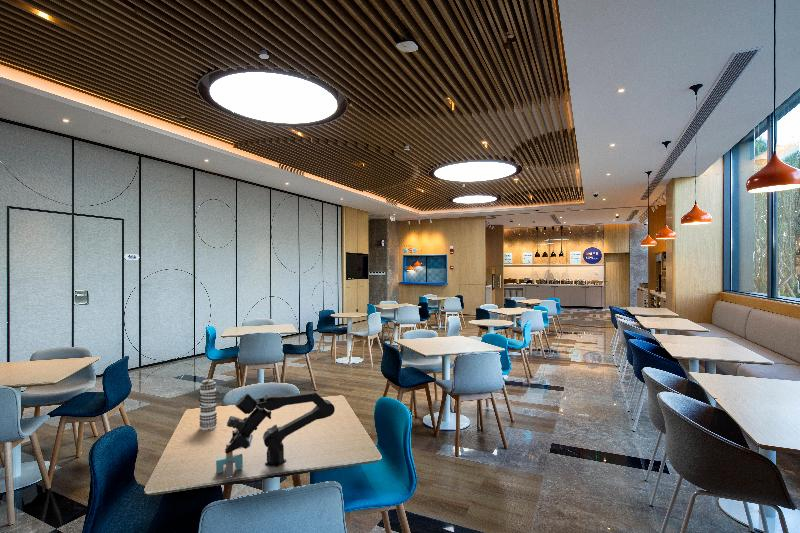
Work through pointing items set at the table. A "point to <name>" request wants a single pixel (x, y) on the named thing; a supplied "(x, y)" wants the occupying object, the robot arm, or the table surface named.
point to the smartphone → (249, 440)
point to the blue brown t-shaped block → (229, 457)
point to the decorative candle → (208, 404)
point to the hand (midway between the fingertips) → (225, 452)
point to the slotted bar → (229, 468)
